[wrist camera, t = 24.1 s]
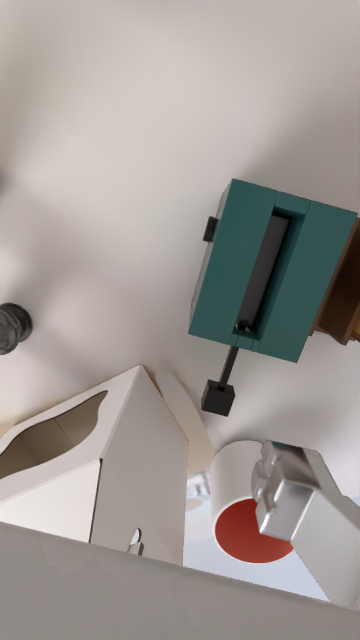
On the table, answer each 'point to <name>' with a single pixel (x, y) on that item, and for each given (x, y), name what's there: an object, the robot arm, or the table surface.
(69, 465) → the gable box
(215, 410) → the carriage
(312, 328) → the toast rack
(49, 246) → the table surface
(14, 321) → the chess piece
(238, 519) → the cup
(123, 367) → the table surface
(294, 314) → the toaster
